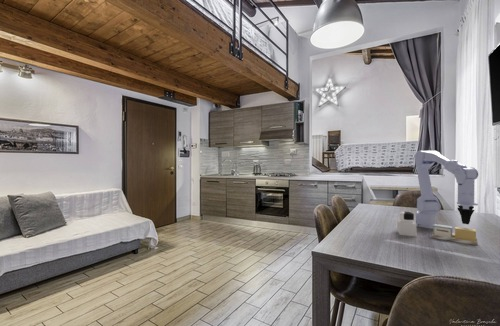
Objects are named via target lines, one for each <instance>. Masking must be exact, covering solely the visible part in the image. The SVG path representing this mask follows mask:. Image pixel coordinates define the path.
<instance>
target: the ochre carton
mask: <svg viewBox="0 0 500 326" xmlns="http://www.w3.org/2000/svg"><path fill="white" fill-rule="evenodd" d="M454 232H455V238H456V239H462V240H468V241H474V242H476V238H477V229H473V228H467V227H460V226H455V227H454Z"/></svg>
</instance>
